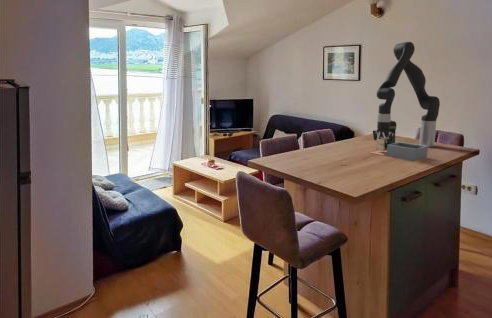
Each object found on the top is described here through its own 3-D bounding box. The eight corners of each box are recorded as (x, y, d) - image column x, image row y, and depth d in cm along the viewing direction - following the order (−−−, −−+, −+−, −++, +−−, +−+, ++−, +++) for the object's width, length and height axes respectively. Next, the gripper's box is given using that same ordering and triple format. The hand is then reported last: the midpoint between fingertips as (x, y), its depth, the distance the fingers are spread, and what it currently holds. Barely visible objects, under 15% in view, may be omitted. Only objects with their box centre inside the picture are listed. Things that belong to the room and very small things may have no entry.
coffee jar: (396, 149, 268) (398, 120, 264) (385, 149, 267) (387, 121, 262) (388, 146, 277) (390, 118, 273) (378, 147, 276) (379, 119, 271)
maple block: (380, 148, 260) (381, 137, 259) (387, 150, 256) (388, 139, 255) (376, 149, 257) (376, 138, 256) (383, 151, 253) (384, 140, 252)
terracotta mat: (381, 150, 264) (381, 149, 264) (393, 152, 258) (393, 152, 257) (370, 153, 257) (370, 152, 257) (382, 155, 250) (382, 154, 250)
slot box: (399, 152, 258) (400, 141, 256) (426, 157, 244) (427, 146, 242) (386, 156, 249) (387, 144, 248) (414, 161, 236) (415, 149, 234)
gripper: (397, 121, 250) (395, 148, 253) (377, 119, 260) (375, 145, 264) (390, 122, 245) (388, 150, 249) (370, 120, 256) (368, 147, 260)
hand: (382, 147), depth 257 cm, fingers closed on maple block, 5 cm apart
